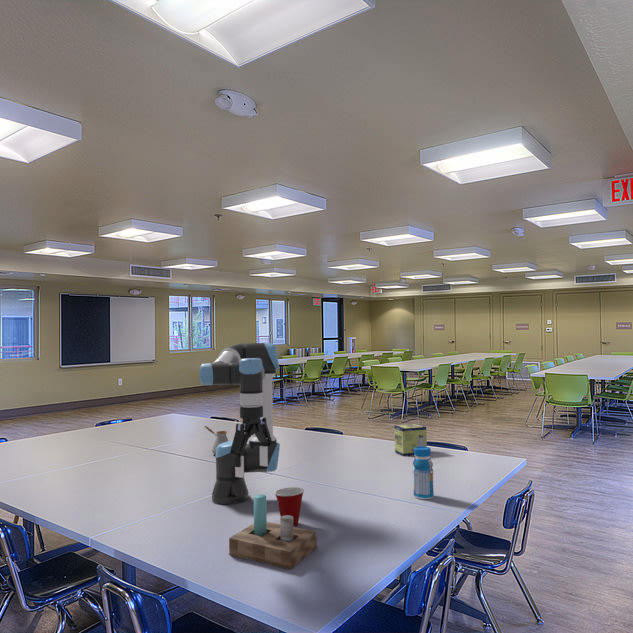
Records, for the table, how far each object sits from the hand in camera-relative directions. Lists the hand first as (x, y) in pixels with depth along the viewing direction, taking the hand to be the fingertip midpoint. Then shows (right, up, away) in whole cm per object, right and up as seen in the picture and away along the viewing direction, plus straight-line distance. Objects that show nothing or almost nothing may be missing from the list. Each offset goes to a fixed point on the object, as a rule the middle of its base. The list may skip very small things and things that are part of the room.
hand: (252, 471), depth 154 cm
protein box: (+75, -28, +117) cm, 142 cm away
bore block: (+8, -23, -7) cm, 25 cm away
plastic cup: (+11, -24, +15) cm, 31 cm away
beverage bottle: (+65, -24, +42) cm, 81 cm away
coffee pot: (-38, -31, +126) cm, 135 cm away
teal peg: (+3, -22, -4) cm, 23 cm away
